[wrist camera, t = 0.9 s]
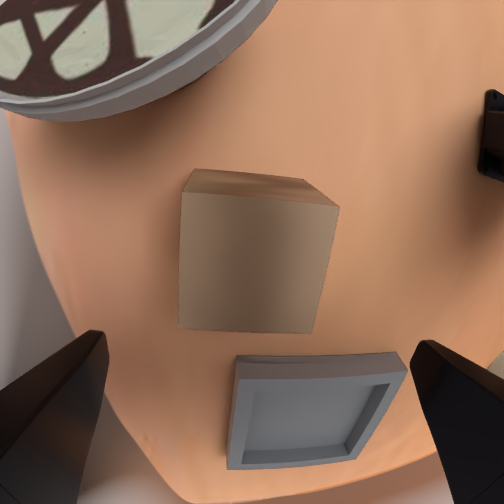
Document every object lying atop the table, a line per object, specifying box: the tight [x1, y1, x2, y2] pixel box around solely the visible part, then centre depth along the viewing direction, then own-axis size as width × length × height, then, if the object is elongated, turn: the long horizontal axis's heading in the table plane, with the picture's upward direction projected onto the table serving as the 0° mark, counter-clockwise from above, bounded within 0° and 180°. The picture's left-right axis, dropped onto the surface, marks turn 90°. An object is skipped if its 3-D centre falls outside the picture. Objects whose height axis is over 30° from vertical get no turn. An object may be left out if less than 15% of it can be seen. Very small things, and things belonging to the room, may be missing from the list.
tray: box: [226, 352, 408, 470], centre depth 24 cm, size 13×13×2 cm
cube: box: [178, 169, 340, 334], centre depth 16 cm, size 6×6×6 cm
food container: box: [0, 0, 278, 122], centre depth 10 cm, size 12×6×10 cm, turn 112°
